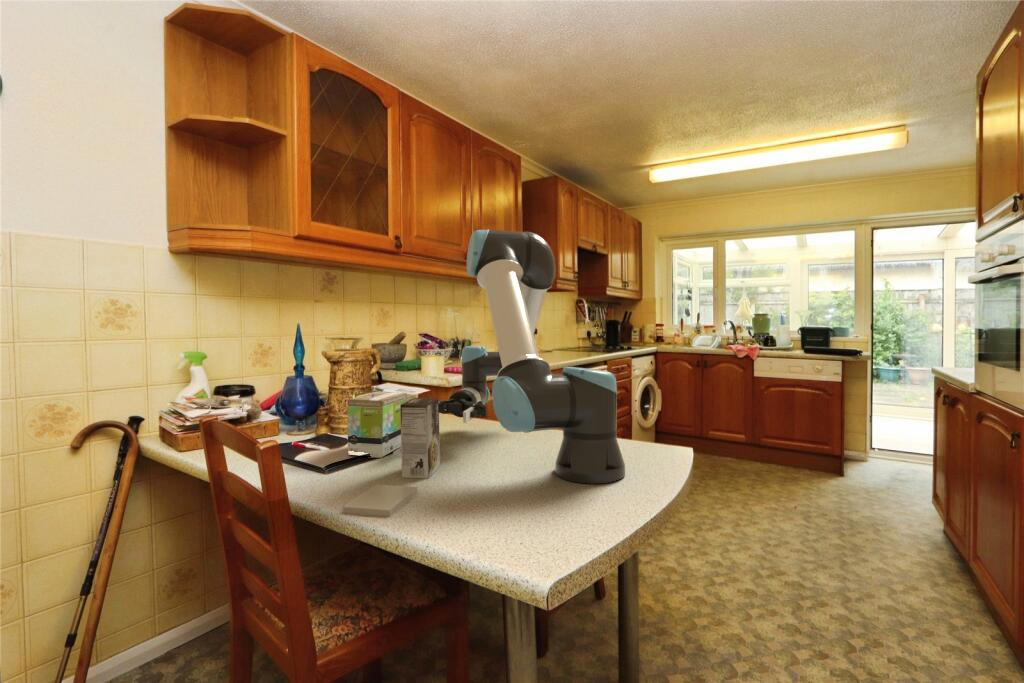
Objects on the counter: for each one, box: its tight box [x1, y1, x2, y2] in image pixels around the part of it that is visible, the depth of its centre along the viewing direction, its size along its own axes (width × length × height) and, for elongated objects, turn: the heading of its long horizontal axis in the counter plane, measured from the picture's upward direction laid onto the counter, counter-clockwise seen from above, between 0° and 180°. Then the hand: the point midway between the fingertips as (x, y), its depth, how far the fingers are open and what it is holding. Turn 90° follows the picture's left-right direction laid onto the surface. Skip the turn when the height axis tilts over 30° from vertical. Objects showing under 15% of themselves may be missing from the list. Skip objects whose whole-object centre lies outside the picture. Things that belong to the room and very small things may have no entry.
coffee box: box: [400, 397, 441, 479], centre depth 109 cm, size 9×6×16 cm
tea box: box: [347, 391, 408, 459], centre depth 129 cm, size 15×10×15 cm
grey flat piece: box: [342, 484, 419, 518], centre depth 91 cm, size 9×2×12 cm
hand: (438, 416), depth 119 cm, fingers open, 13 cm apart
